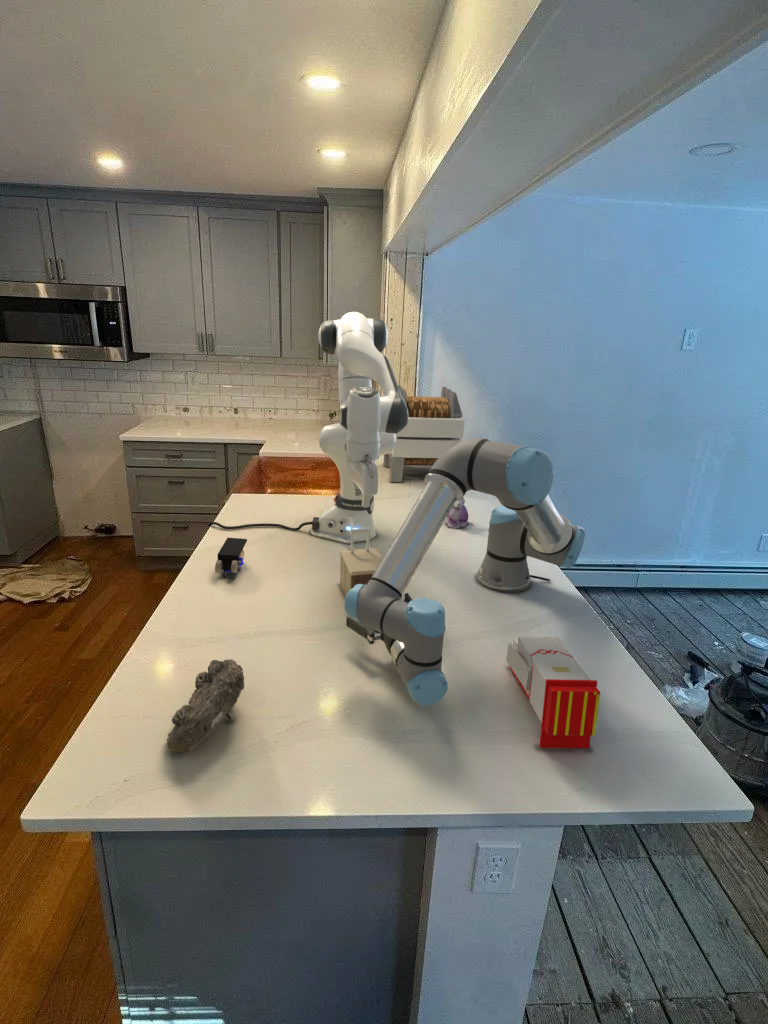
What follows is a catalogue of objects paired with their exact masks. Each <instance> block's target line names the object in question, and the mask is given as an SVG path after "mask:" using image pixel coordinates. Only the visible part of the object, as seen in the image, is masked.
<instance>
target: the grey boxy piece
mask: <svg viewBox="0 0 768 1024" xmlns="http://www.w3.org/2000/svg"><path fill="white" fill-rule="evenodd" d="M397 385H398V387H399V390H400V393H401V395H402V397H403V399H404V401H405V403H406V405H407V409H408V422H407V425H406V426H405V427H404V428H403V429H402V430H401V431H400V432H398V433H397V434H396V438H397V440H396V445H395V448H394V449H393V451H392V452H391V453H388V454H384V455H383V466H384V467H388V468H389V475H388V476H389V477H388V478H389V480H390V482H391V483H402V482H403V475H404V469H405V466H406V467H407V466H411V467H412V466H413V467H415V466H416V467H417V466H418V467H431V466H432V465H433V464H434V463H435V462H436V461H437V460H438V459H439V458H440V457H441V456H442V455H443V454H444V453H445V452H446V451H447V450H449V449H450V448H452V447H453V446H455V445H456V444H458V443H460V442H462V441H463V440H462V439H463V438H464V431H465V430H464V429H465V419H464V418H463V411H462V408H461V405H460V402H459V398H458V395H457V392H455V391H453V390H452V389H451V388H447V386H442V387H441V392H440V393H441V394H440V396H415V395H414V396H413V395H412V396H411V395H407V394H408V393H407V390H406V389H404V388H403V387H402V385H399V384H397Z"/></svg>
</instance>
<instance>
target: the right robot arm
mask: <svg viewBox="0 0 768 1024" xmlns="http://www.w3.org/2000/svg"><path fill="white" fill-rule="evenodd" d="M553 471H554V465H553V461H552V459H551V457H550V456H549V454H548V453H547V452H545V451H544V450H542V449H538V448H535V447H533V446H527V445H517V444H512V443H506V442H503V441H496V440H491V439H488V438H482V437H473V438H468V439H465V440H462V442H460V443H458V444H456V445H455V446H453V447H452V448H450V449H449V450H447V451H446V452H445V453H444V454H443V455H442V456H441V457H440V458H439V459H438V460H437V461H436V462H435V463H434V464H433V465H431V466H430V468H429V470H428V471H427V473H426V475H425V477H424V482H425V485H424V487H423V489H422V491H421V492H420V494H419V496H418V498H417V499H416V500H415V503H414V504H413V505H412V508H411V509H410V511H409V512H408V515H407V516H406V518H405V519H404V521H403V523H402V525H401V526H400V528H399V529H398V531H397V533H396V535H395V537H394V538H393V540H392V542H390V545H389V547H388V549H387V550H386V552H385V553H384V555H383V557H382V560H381V562H380V564H379V565H378V567H377V569H376V570H375V572H374V574H373V576H372V577H371V579H370V580H369V582H368V584H367V585H365V584H364V585H363V584H357V585H355V586H354V587H353V588H352V589H350V590H349V592H348V593H347V596H345V598H344V603H343V605H344V606H343V607H344V608H343V609H344V613H345V614H346V616H345V617H346V618H345V620H346V622H345V627H347V628H348V629H350V630H352V631H353V632H355V633H356V634H358V635H359V636H361V637H362V638H364V639H365V640H366V641H367V642H368V644H369V645H374V644H375V641H378V640H380V641H382V642H383V643H384V645H385V648H386V650H387V652H388V654H389V656H390V657H391V658H390V659H391V660H392V662H393V664H394V666H395V668H396V670H397V671H398V673H399V676H400V677H401V680H402V683H403V684H404V686H405V689H406V691H407V692H408V694H409V696H410V697H411V699H412V701H413V702H414V703H415V704H417V705H419V706H422V707H429V706H434V705H436V704H438V703H439V702H441V701H442V700H443V699H444V698H445V697H446V695H447V693H448V689H449V684H448V681H447V678H446V675H445V673H444V672H443V669H442V665H443V648H444V638H445V632H446V608H445V607H444V605H443V604H442V603H441V602H439V601H438V600H436V599H434V598H426V597H417V598H414V599H413V597H411V595H410V594H409V592H405V591H406V590H407V588H408V586H409V585H410V583H411V581H412V579H413V578H414V575H415V574H416V572H417V570H418V569H419V567H420V565H421V564H422V561H423V560H424V558H425V557H426V554H427V552H428V551H429V549H430V547H431V545H432V544H433V542H434V541H435V539H436V537H437V535H438V533H439V532H440V530H441V528H442V526H443V524H444V523H445V522H446V519H447V516H448V514H449V512H450V510H451V509H452V507H453V505H454V503H455V501H460V500H462V498H463V497H464V498H465V495H466V493H467V492H468V491H475V492H479V493H481V494H482V493H483V494H486V495H490V496H493V497H496V499H497V500H498V501H499V503H500V504H501V505H499V506H496V507H495V508H493V509H492V511H491V513H490V514H491V515H490V517H489V518H490V519H489V521H488V524H489V526H488V535H487V544H486V552H485V553H486V554H485V555H484V558H483V559H482V562H481V563H480V566H479V568H478V570H477V580H478V582H479V583H480V584H481V585H483V586H484V587H486V588H488V589H491V590H493V591H498V592H503V593H516V592H517V593H519V592H522V591H525V590H526V589H529V587H530V583H531V579H536V580H542V581H546V582H551V579H550V578H546V577H543V576H538V575H534V574H530V569H529V565H528V557H529V558H532V559H536V560H539V561H543V562H545V563H548V564H552V565H555V566H558V567H559V568H565V569H570V568H573V566H574V565H575V564H576V563H577V560H578V559H579V557H580V555H581V551H582V549H583V545H584V541H585V537H586V530H585V529H584V527H581V526H580V525H573V524H572V523H571V521H570V520H569V519H568V518H567V517H566V516H565V515H564V514H562V513H559V512H558V510H557V508H556V506H555V505H554V503H553V501H552V499H551V498H550V496H549V494H550V491H551V489H552V486H553V481H554V472H553ZM403 595H404V600H401V599H402V597H403Z"/></svg>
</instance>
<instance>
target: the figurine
mask: <svg viewBox="0 0 768 1024" xmlns="http://www.w3.org/2000/svg"><path fill="white" fill-rule="evenodd" d="M465 503H466V501H465V496H464V497H463V498H462V500H460V501H455V503H454V505H453V507H452V509H451V510H450V512H449V514H448V516H447V517H446V519H445V524H446V525H447V527H449V528H452V529H453V528H454V529H459V528H464V527H466V525H468V520H469V513H468V509H467V507H466V506H465Z"/></svg>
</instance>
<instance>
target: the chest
mask: <svg viewBox="0 0 768 1024" xmlns="http://www.w3.org/2000/svg"><path fill="white" fill-rule="evenodd" d="M339 572H340V573H339V575H340V576H339V585H340V587H341V589H342V592H343V595H344V596H345V597H346V596H347V593H348V592H349V590H350V589H352V588H353V587H354V586H355V585H357V584H363V585H364V584H365V585H367V584H368V582H369V580H370V579H371V577H372V576H373V574H363V575H351V574H350V572H349V570H348V568H347V566H346V564H345V562H344V560H343V558H342V556H341V555H340V569H339Z"/></svg>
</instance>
